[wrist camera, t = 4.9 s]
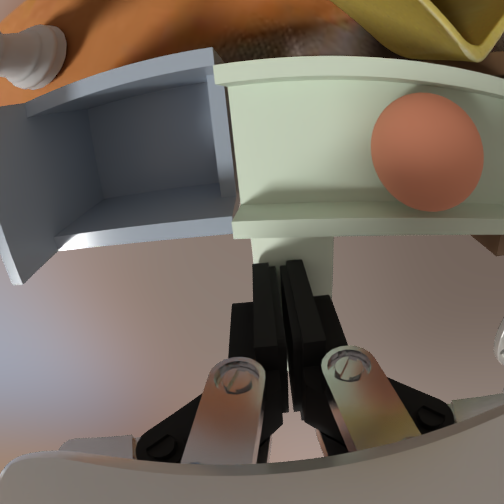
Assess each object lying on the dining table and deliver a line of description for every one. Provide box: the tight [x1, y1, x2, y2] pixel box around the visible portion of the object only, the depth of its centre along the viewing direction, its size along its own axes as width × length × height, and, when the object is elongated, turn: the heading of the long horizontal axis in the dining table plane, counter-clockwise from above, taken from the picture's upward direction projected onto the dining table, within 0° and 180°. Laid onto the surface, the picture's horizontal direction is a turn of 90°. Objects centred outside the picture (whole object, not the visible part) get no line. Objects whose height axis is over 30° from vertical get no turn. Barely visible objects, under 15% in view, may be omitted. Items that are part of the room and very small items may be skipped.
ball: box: [371, 92, 484, 212], centre depth 7 cm, size 3×3×3 cm
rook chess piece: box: [0, 24, 67, 90], centre depth 10 cm, size 4×4×8 cm
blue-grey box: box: [0, 47, 240, 285], centre depth 12 cm, size 7×9×9 cm
